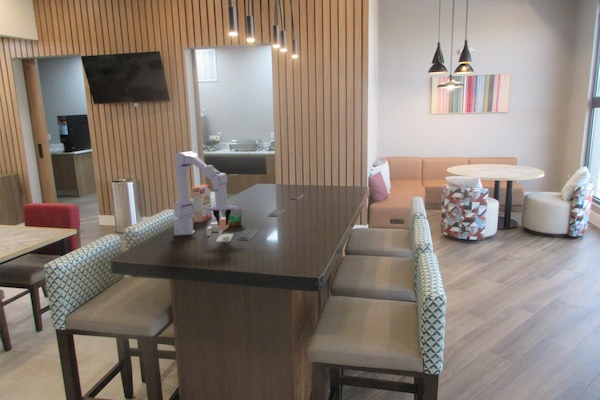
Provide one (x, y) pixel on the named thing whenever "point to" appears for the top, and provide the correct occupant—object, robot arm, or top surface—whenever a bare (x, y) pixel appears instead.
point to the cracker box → (201, 202)
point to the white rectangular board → (224, 238)
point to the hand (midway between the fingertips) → (223, 225)
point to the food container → (234, 218)
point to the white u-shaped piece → (214, 228)
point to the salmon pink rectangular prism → (223, 223)
